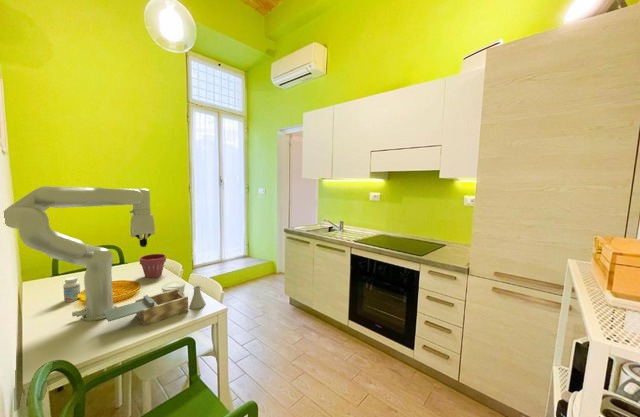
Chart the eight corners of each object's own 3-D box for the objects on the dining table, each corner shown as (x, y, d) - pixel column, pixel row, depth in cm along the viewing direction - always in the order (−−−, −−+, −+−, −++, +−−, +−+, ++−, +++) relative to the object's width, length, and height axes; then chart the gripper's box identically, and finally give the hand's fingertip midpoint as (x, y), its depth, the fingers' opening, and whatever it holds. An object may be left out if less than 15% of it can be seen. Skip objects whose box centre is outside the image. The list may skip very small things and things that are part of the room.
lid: (108, 321, 102) (108, 315, 102) (103, 312, 109) (102, 306, 109) (158, 306, 115) (158, 301, 115) (151, 299, 122) (150, 293, 122)
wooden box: (144, 326, 111) (144, 310, 110) (136, 315, 119) (135, 300, 119) (188, 311, 124) (188, 296, 123) (177, 302, 133) (177, 288, 132)
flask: (199, 310, 125) (198, 290, 124) (186, 308, 127) (185, 289, 126) (208, 303, 132) (208, 284, 131) (195, 302, 134) (195, 283, 133)
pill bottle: (61, 301, 130) (59, 279, 129) (75, 296, 136) (74, 275, 135) (69, 303, 129) (67, 281, 127) (83, 297, 134) (82, 277, 133)
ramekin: (164, 300, 134) (163, 291, 133) (160, 293, 142) (159, 284, 142) (187, 295, 141) (187, 286, 141) (182, 288, 150) (182, 279, 149)
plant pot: (170, 271, 175) (170, 253, 174) (159, 279, 161) (158, 259, 160) (148, 271, 174) (148, 253, 173) (135, 279, 160) (134, 259, 159)
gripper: (126, 214, 127) (128, 250, 129) (160, 212, 138) (161, 245, 140) (122, 212, 132) (124, 247, 133) (155, 210, 143) (157, 243, 145)
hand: (143, 246), depth 137 cm, fingers closed
